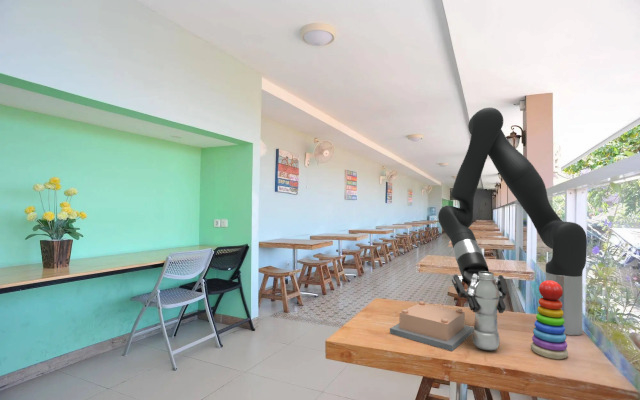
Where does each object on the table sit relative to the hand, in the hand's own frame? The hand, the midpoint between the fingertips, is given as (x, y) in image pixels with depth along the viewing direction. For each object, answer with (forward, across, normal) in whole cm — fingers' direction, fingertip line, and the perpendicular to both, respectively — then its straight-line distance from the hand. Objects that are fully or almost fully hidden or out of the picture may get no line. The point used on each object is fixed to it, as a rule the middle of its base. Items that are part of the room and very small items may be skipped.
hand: (489, 311), depth 88 cm
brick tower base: (-1, -11, +16) cm, 19 cm away
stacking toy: (+8, +15, +7) cm, 18 cm away
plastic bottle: (+6, 0, +9) cm, 11 cm away
